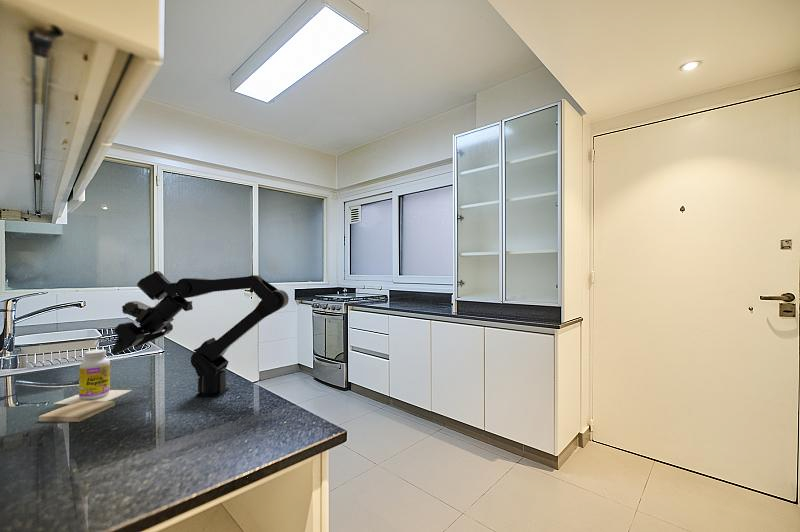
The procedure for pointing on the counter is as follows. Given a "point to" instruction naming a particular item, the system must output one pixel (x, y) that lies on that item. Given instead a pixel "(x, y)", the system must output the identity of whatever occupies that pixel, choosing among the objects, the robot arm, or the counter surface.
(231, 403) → the counter surface
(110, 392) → the tile
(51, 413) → the oak pad
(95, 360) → the supplement bottle
